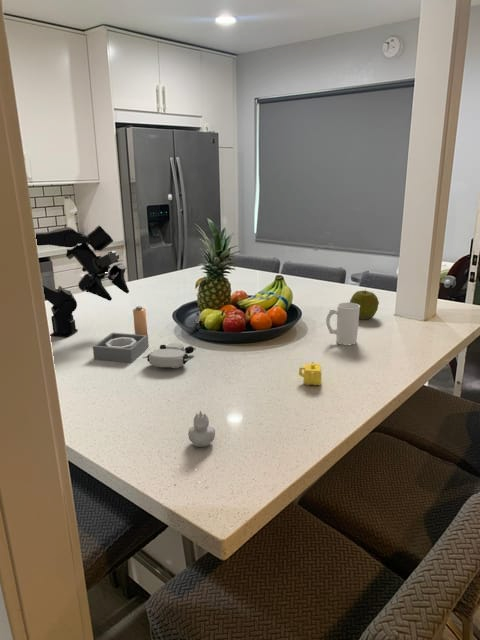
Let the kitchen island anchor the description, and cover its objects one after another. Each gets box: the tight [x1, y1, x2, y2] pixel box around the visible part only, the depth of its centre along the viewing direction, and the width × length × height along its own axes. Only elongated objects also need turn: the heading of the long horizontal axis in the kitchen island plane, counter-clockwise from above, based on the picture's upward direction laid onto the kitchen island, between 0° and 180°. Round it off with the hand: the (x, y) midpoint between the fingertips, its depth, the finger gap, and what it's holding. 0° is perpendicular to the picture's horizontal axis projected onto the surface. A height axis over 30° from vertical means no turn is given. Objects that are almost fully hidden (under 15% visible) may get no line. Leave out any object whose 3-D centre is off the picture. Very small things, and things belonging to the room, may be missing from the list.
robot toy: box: [142, 342, 197, 369], centre depth 138 cm, size 12×4×15 cm
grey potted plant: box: [187, 410, 216, 448], centre depth 98 cm, size 5×7×8 cm
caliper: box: [195, 311, 201, 324], centre depth 173 cm, size 20×1×6 cm, turn 173°
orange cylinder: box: [132, 306, 149, 336], centre depth 157 cm, size 4×4×10 cm
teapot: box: [298, 362, 322, 386], centre depth 125 cm, size 8×6×5 cm
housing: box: [92, 332, 150, 364], centre depth 145 cm, size 12×12×4 cm
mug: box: [325, 302, 360, 346], centre depth 151 cm, size 10×7×12 cm, turn 89°
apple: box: [349, 290, 380, 320], centre depth 173 cm, size 10×10×11 cm
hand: (119, 296), depth 157 cm, fingers open, 9 cm apart
